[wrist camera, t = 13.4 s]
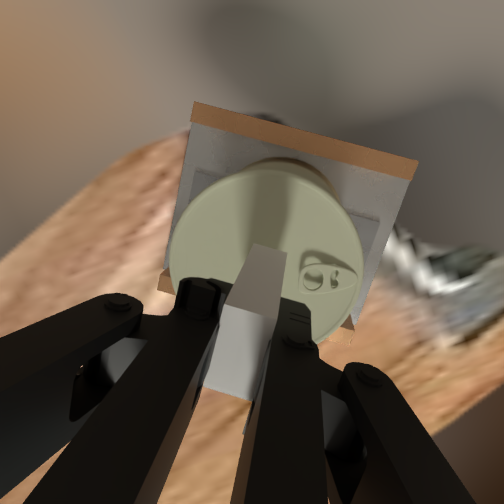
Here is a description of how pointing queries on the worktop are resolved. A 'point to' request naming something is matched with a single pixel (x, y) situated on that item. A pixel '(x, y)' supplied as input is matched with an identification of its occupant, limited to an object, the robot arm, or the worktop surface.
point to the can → (275, 236)
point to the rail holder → (307, 150)
